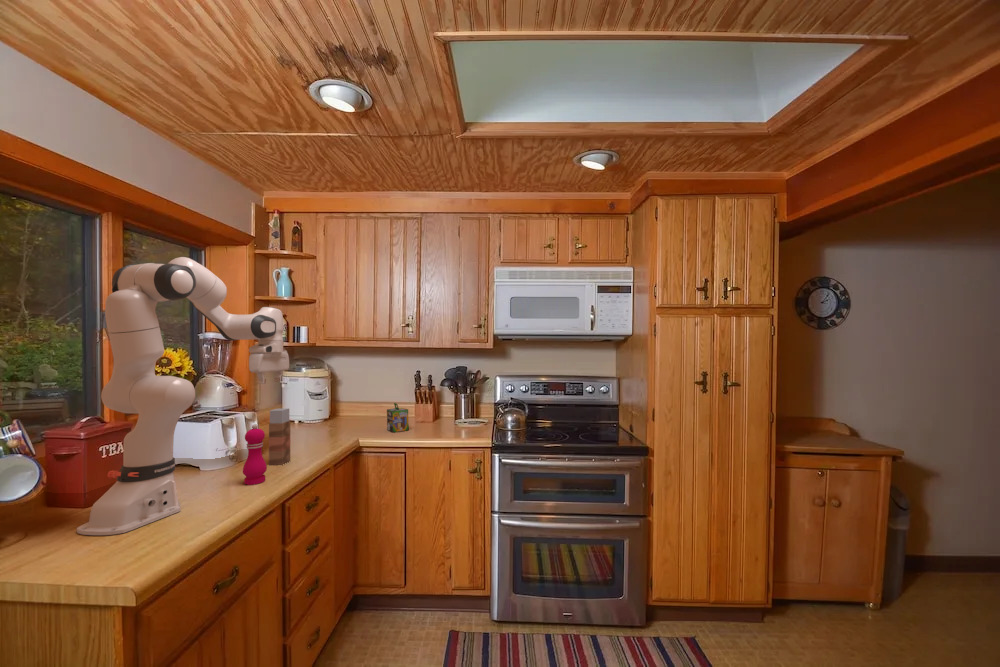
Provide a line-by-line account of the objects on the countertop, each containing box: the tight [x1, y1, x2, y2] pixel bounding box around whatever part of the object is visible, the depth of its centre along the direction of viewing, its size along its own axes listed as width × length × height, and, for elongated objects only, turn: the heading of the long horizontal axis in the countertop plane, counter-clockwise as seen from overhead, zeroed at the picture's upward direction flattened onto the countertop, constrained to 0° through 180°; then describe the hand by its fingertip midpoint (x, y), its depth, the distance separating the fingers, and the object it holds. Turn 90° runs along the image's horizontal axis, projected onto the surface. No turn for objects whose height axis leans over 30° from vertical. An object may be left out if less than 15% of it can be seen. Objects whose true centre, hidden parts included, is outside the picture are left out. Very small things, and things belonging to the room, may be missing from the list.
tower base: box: [268, 447, 291, 466], centre depth 168 cm, size 6×6×6 cm
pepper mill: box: [242, 423, 268, 486], centre depth 146 cm, size 7×7×20 cm
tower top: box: [268, 420, 291, 438], centre depth 169 cm, size 6×6×6 cm
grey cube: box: [269, 408, 290, 423], centre depth 169 cm, size 5×5×5 cm
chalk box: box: [386, 402, 410, 434], centre depth 229 cm, size 9×9×15 cm
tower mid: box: [268, 434, 291, 452], centre depth 169 cm, size 6×6×6 cm
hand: (270, 382), depth 168 cm, fingers open, 8 cm apart
